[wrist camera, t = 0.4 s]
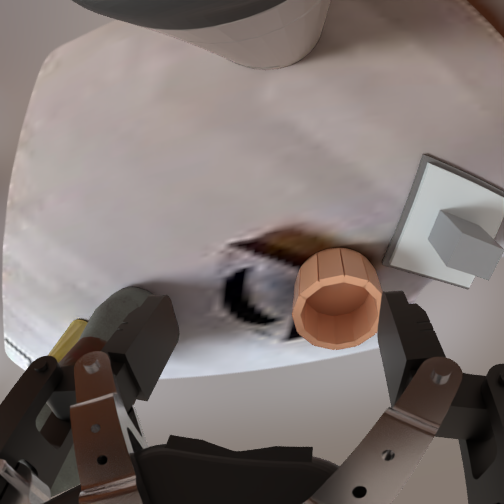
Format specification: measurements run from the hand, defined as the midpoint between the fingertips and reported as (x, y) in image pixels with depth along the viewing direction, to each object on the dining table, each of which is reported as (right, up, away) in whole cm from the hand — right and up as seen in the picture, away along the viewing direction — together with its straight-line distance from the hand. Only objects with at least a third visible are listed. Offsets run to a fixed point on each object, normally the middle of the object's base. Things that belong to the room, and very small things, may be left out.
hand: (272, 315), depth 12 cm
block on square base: (+18, +4, +14) cm, 23 cm away
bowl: (+8, -1, +19) cm, 21 cm away
